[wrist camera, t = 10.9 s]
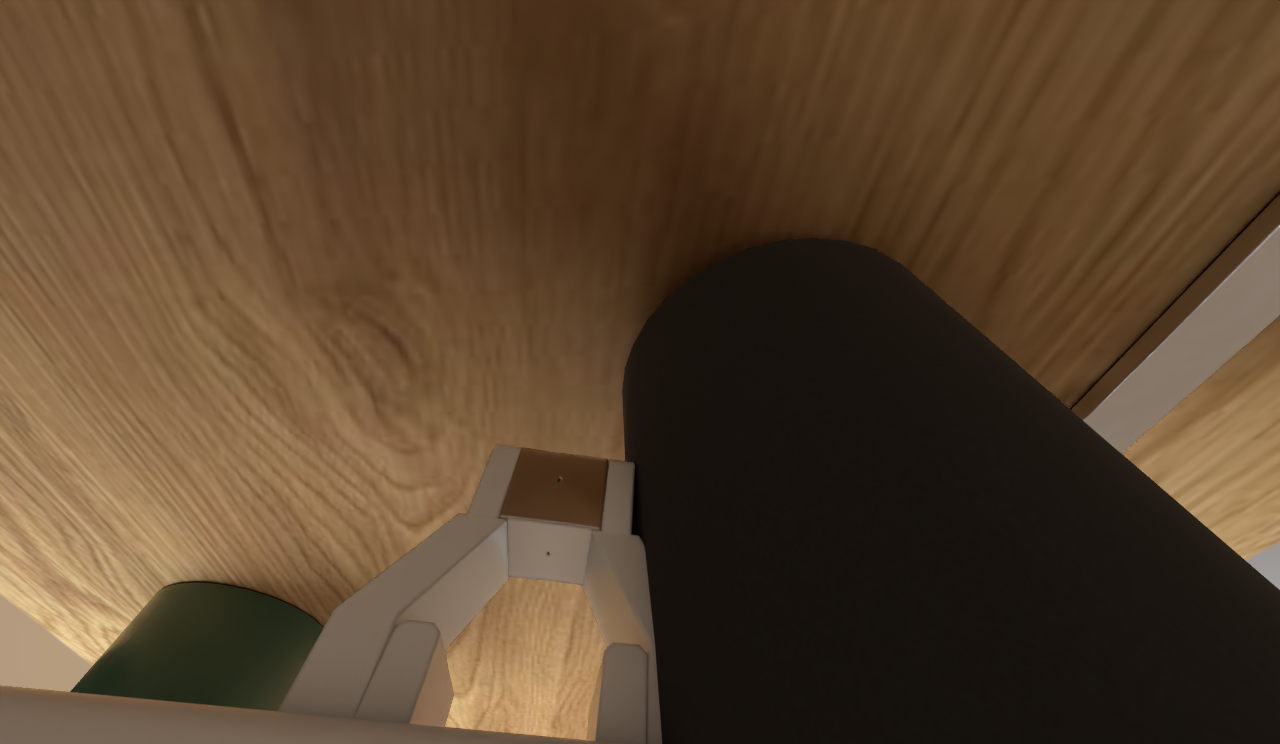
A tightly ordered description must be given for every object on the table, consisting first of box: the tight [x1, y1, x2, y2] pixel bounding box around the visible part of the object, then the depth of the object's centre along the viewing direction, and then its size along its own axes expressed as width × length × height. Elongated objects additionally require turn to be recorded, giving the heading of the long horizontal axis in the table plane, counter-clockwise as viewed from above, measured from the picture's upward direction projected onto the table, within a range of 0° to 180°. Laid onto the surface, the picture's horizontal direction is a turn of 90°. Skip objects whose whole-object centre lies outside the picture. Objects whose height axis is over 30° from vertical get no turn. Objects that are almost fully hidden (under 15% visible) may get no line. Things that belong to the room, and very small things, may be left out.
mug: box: [622, 238, 1280, 744], centre depth 9 cm, size 8×12×10 cm
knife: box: [1071, 194, 1280, 454], centre depth 14 cm, size 18×2×2 cm, turn 171°
